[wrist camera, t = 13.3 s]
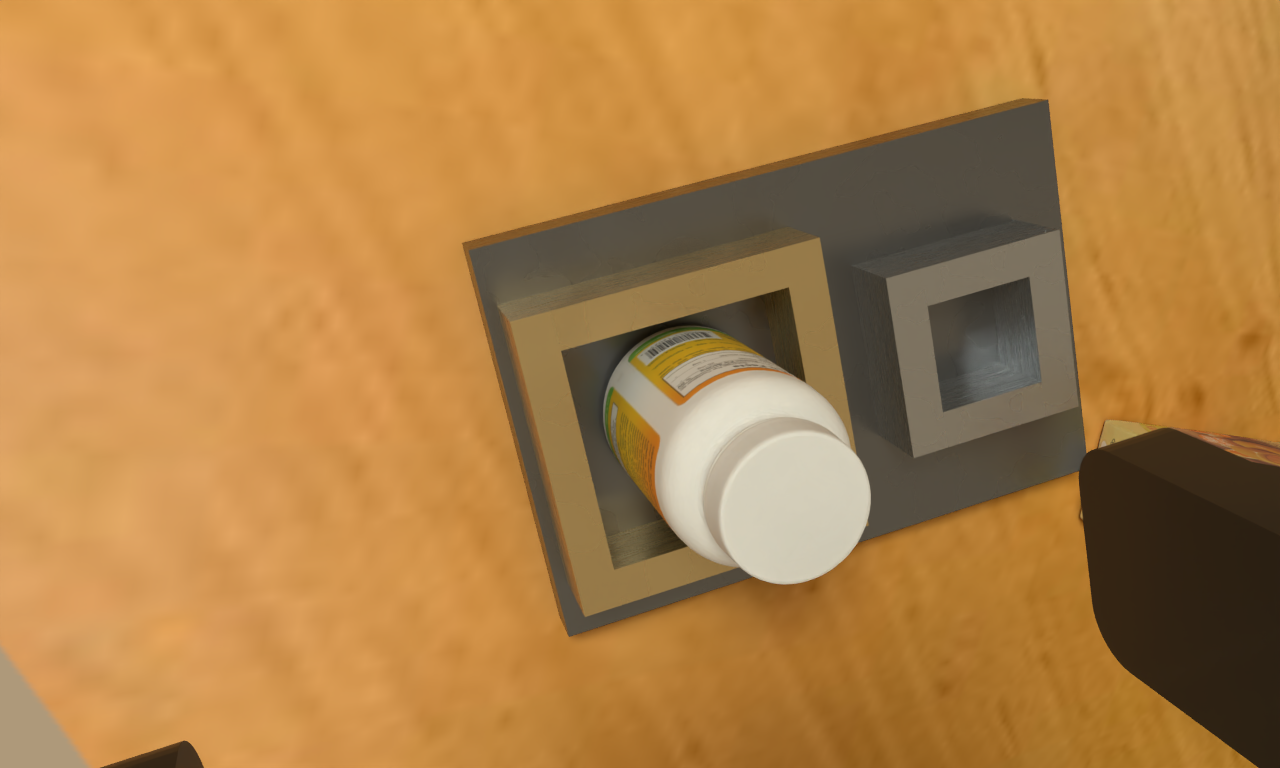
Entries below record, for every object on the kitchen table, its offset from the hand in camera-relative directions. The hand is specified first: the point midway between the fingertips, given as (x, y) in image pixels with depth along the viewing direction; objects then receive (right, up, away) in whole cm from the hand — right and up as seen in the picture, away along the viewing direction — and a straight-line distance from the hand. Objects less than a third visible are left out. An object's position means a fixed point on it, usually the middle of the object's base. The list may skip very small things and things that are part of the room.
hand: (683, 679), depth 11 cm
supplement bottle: (+1, +2, +28) cm, 28 cm away
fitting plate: (+5, +3, +30) cm, 31 cm away
